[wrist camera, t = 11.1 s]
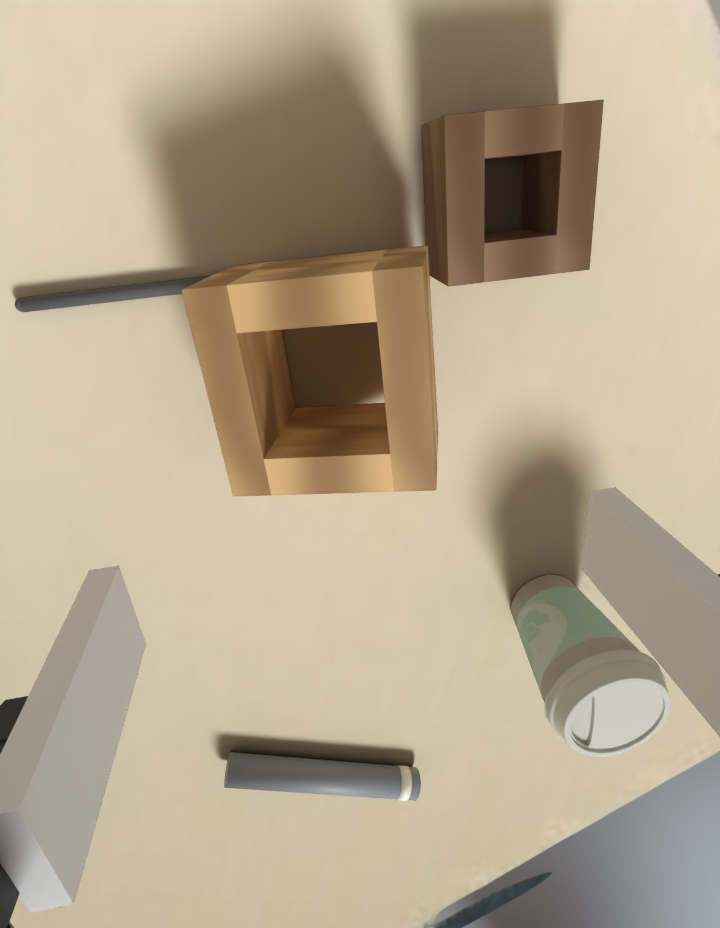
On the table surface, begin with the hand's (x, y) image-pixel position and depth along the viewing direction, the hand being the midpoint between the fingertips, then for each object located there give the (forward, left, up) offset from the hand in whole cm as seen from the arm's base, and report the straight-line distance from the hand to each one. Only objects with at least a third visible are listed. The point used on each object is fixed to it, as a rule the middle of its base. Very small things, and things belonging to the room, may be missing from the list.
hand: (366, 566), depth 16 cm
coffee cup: (+16, -24, -23) cm, 37 cm away
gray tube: (-13, -36, -22) cm, 44 cm away
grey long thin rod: (-9, +5, -23) cm, 25 cm away
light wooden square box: (+1, 0, -22) cm, 22 cm away
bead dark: (+11, +8, -23) cm, 27 cm away
